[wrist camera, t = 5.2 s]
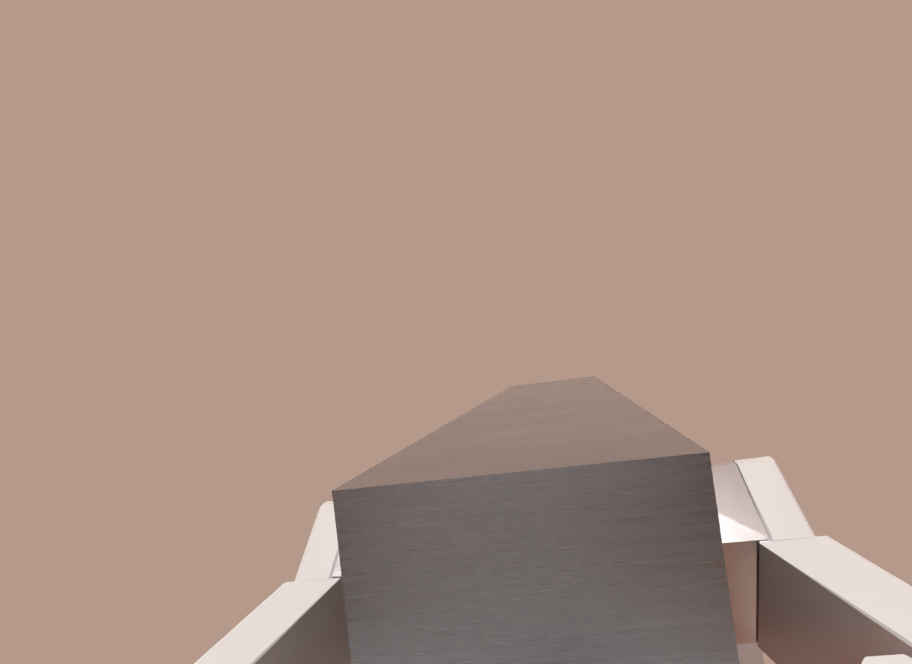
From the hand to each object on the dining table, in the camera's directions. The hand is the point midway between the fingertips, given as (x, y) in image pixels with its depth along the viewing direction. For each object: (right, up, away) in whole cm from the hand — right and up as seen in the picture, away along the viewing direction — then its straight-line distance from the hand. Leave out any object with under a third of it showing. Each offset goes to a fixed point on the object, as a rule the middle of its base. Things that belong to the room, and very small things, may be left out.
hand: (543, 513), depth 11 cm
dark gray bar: (+1, -2, +8) cm, 8 cm away
